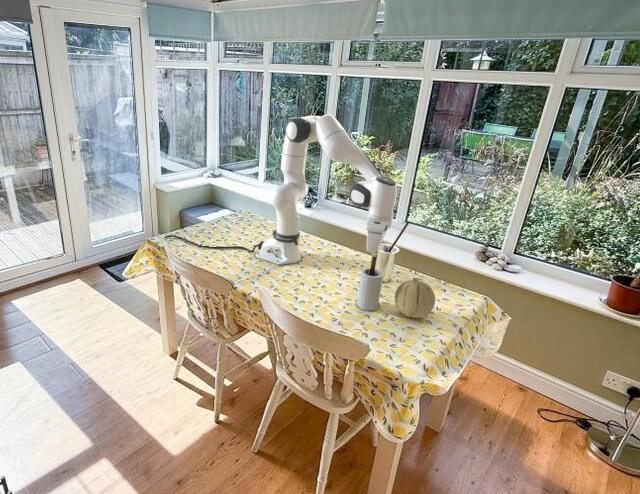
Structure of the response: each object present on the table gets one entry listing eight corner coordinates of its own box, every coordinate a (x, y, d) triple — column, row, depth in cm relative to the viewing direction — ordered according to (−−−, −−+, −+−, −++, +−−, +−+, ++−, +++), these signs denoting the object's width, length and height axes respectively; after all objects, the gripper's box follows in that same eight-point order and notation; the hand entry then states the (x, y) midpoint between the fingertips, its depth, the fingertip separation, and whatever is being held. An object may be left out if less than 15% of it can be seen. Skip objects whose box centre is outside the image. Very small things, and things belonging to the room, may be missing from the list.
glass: (398, 286, 182) (409, 223, 170) (371, 283, 184) (381, 220, 172) (395, 274, 192) (405, 214, 180) (370, 272, 194) (378, 212, 182)
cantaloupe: (410, 329, 152) (417, 294, 146) (384, 309, 165) (389, 276, 159) (440, 320, 158) (448, 286, 152) (412, 301, 170) (418, 269, 164)
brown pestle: (363, 289, 163) (370, 243, 156) (365, 284, 167) (372, 239, 159) (373, 291, 162) (380, 245, 154) (375, 287, 165) (382, 241, 157)
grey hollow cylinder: (355, 307, 166) (359, 274, 160) (359, 298, 172) (363, 266, 167) (375, 312, 162) (380, 279, 156) (379, 302, 169) (384, 270, 163)
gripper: (376, 211, 163) (371, 243, 168) (365, 227, 146) (360, 262, 151) (392, 213, 160) (387, 246, 166) (383, 231, 143) (378, 266, 149)
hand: (374, 254), depth 158 cm, fingers closed on brown pestle, 2 cm apart
